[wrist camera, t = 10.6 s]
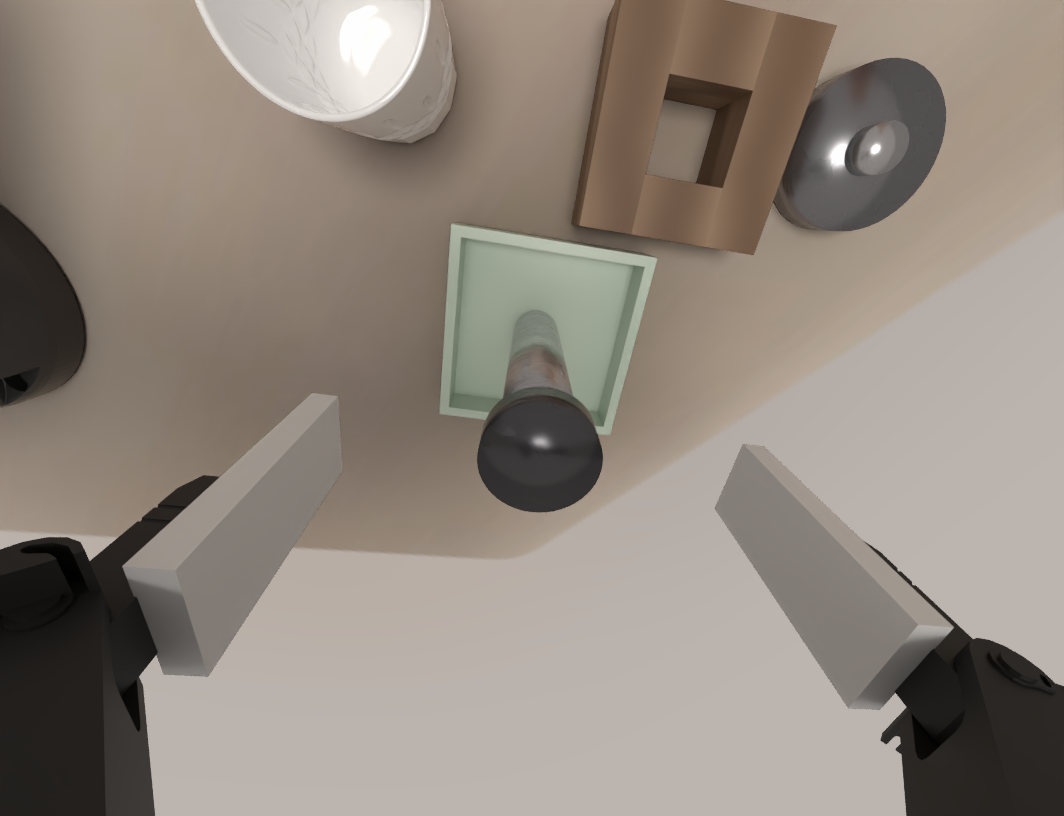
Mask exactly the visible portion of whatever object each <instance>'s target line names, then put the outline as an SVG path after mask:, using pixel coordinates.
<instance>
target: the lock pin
mask: <svg viewBox="0 0 1064 816" xmlns="http://www.w3.org/2000/svg"><path fill="white" fill-rule="evenodd" d="M477 463H478V469H479V473H480V476H481V478H482V480H483V482H484V484H485V485H486V487H487V488H488V490H489V491H490V492H491V493H492V494H493V495H494V496H495V497H496V498H498V499H499V500H500V501H502V502H504V503H505V504H507V505H509V506H511V507H514V508H516V509H520V510H523V511H529V512H550V511H555V510H559V509H563V508H565V507H568V506H570V505H572V504H574V503H576V502H577V501H579V500H580V499H582V498H583V497H584V496H585V495H586V494H587V493H588V492H589V491H590V490H591V489H592V488H593V486H594V485H595V483H596V482H597V480H598V478H599V475H600V472H601V469H602V463H603V454H602V448H601V444H600V441H599V438H598V434H597V431H596V428H595V424H594V421H593V419H592V417H591V414H590V413H589V411H588V410H587V408H586V407H585V406H584V405H583V404H582V403H581V402H580V401H579V400H578V399H577V398H575V397H574V396H573V394H572V389H571V385H570V381H569V376H568V372H567V368H566V363H565V359H564V355H563V351H562V346H561V342H560V338H559V333H558V329H557V325H556V323H555V321H554V319H553V318H552V317H551V316H550V315H549V314H547V313H546V312H543V311H539V310H532V311H528V312H526V313H524V314H523V315H521V316H520V317H519V318H518V320H517V321H516V323H515V326H514V332H513V338H512V344H511V350H510V356H509V363H508V369H507V375H506V381H505V387H504V393H503V399H501V400H500V401H499V402H498V403H497V404H496V405H495V406H494V407H493V408H492V410H491V411H490V413H489V414H488V416H487V418H486V421H485V424H484V427H483V432H482V436H481V440H480V444H479V449H478V456H477Z"/></svg>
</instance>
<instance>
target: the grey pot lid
mask: <svg viewBox="0 0 1064 816" xmlns="http://www.w3.org/2000/svg"><path fill="white" fill-rule="evenodd" d="M945 123H946V107H945V101H944V96H943V93H942V90H941V87H940V85H939V83H938V82H937V80H936V78H935V77H934V76H933V75H932V73H931V72H930V71H929V70H927V69H926V68H925V67H924V66H922V65H920V64H919V63H917V62H914V61H911V60H908V59H902V58H886V59H881V60H876V61H873V62H871V63H868V64H865V65H863V66H860V67H858V68H856V69H853V70H851V71H849V72H847V73H844V74H842V75H840V76H837V77H835V78H833V79H831V80H829V81H827V82H825V83H823V84H821V85H820V86H818V87H817V88H815V89H814V90H813V93H812V96H811V98H810V101H809V104H808V107H807V109H806V112H805V115H804V118H803V120H802V123H801V126H800V129H799V131H798V134H797V137H796V140H795V142H794V145H793V148H792V151H791V153H790V156H789V159H788V162H787V164H786V167H785V170H784V173H783V175H782V178H781V181H780V184H779V187H778V189H777V192H776V195H775V198H774V200H773V202H774V204H775V205H776V207H777V209H778V210H779V212H780V213H781V214H782V215H783V216H784V217H785V218H786V219H787V220H788V221H790V222H791V223H793V224H795V225H797V226H799V227H802V228H806V229H814V230H831V231H852V230H857V229H861V228H864V227H868V226H870V225H872V224H875V223H877V222H879V221H881V220H882V219H884V218H886V217H888V216H889V215H890V214H892V213H893V212H895V211H896V210H897V209H898V208H900V207H901V206H902V205H903V204H904V203H905V202H906V201H907V200H908V199H909V198H910V197H911V196H912V195H913V194H914V193H915V192H916V190H917V189H918V188H919V187H920V186H921V184H922V183H923V181H924V180H925V178H926V177H927V175H928V174H929V172H930V170H931V168H932V166H933V165H934V162H935V160H936V158H937V155H938V153H939V150H940V147H941V144H942V141H943V136H944V131H945Z"/></svg>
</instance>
